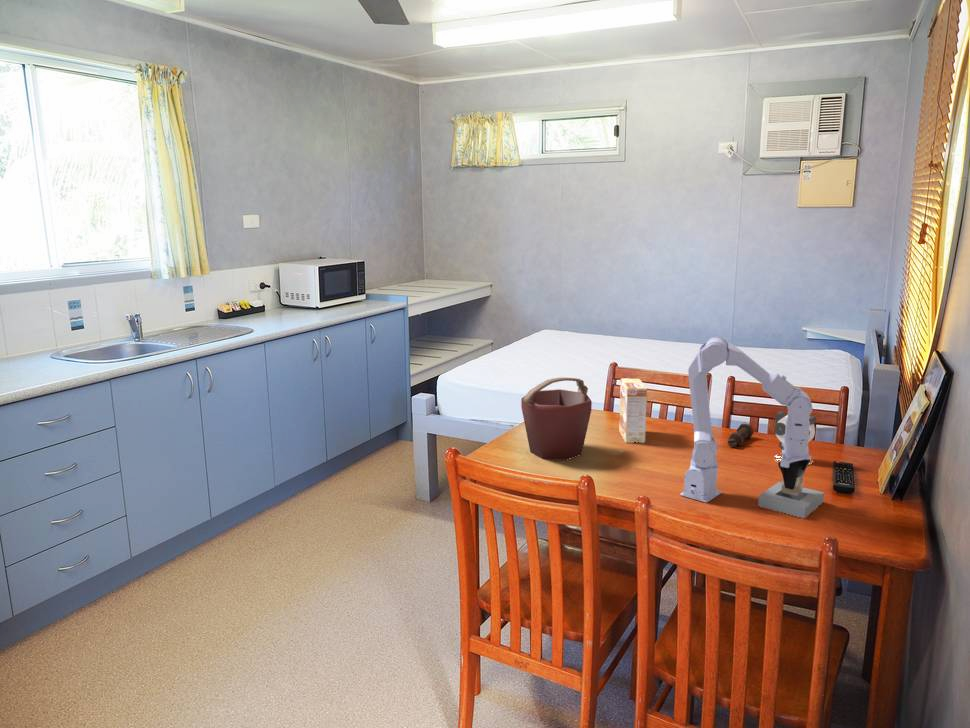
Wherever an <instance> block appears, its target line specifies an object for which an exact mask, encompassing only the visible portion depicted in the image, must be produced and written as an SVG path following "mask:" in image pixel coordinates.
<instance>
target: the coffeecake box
mask: <svg viewBox="0 0 970 728" xmlns="http://www.w3.org/2000/svg"><path fill="white" fill-rule="evenodd" d="M619 392H620V393H619V394H620V395H619V399H620V400H619V425H618V428H619V429H618V431H619V433H620V434H621V437H622V438H623V440H624V442H625V443H626V442H627V443H626V444H645V443H646V425H647V403H648V401H647V397H648V396H647V395H648V387H646V385H645V384H644V382H642V380H641V379H640V378H626V377H625V378H620V391H619ZM628 442H629V443H628ZM634 442H636V443H634ZM638 442H639V443H638Z"/></svg>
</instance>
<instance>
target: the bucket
mask: <svg viewBox="0 0 970 728" xmlns="http://www.w3.org/2000/svg"><path fill="white" fill-rule="evenodd" d="M563 381H565V382H566V381H569V382H571V381H572V382H576V386H577V391H573V390H566V389H559V388H558V389H545V388H546V387H548V386H551V384H553V383H558V382H563ZM543 389H545V390H543ZM588 391H589V387H587V385H585V382H584V380H582V379H581V378H576V377H562V376H561V377H555V378H554V377H553V378H549V379H546V380H544V381H541V382H540V383H539V384H537V385H536V386H535V387H533V388H531V389H529V390H528V392H527V393H526V395H524V396H523V397H521V400H520V401H521V402H520V405H521V412H522V417H523V421H524V422H523V423H524V427H525V431H526V437H527V442H528V448H529V452H530V453H531V454H533V455H535V456H537V457H538V458H540V459H541V460H551V461H552V460H554V461H555V460H558V461H567V459H568V460H570V459H569V458H571V459H573V458H572V457H574V458H576V457H575V456H577V457H579V456H578V455H580V456H582V454H583V448H584V445H585V440H586V438H587V437H586V436H587V431H588V427H589V423H590V419H591V415H592V414H591V413H592V406H593V405H592V404H593V403H592V399H591V398H590V396H589V395H588Z"/></svg>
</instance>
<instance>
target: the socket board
mask: <svg viewBox="0 0 970 728" xmlns="http://www.w3.org/2000/svg"><path fill="white" fill-rule="evenodd" d="M781 491H782V481H778V482H777V483H775V484H774V485H772V486H771V487H769V488H768V489H767V490H765V491H763V492H762V493H761V494H759V495H758V501H757V502H758V503H757V507H759V506H760V508H762V507H763V508H762V509H766V508H767V509H766V510H770V509H771V510H770V511H773V510H774V512H777V511H779V512H778V513H781V512H783V513H782V514H784V513H786V514H785V515H788V514H790V515H789V516H791V515H794V516H793V517H795V516H797V517H796V518H799V517H801V518H800V519H802V518H805V517H806V516H807V515H808V516H809V515H811V514H810V513H811V512H812V511H813V510H814V511H815V510H817V509H818V508H819V507H820V506H821V505H823V504H824V500H825V499H824V498H825V492H824V491H819V490H815V489H811V488H807V487H803V489H802V492H801V493H800V494H798V495H797V496H795V495H791V494H787V493H783V492H781ZM822 503H823V504H822ZM819 505H820V506H819ZM818 506H819V507H818ZM817 507H818V508H817ZM816 508H817V509H816ZM814 511H813V512H814ZM813 512H812V513H813ZM808 516H807V517H808ZM807 517H806V518H807ZM806 518H805V519H806Z"/></svg>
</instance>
